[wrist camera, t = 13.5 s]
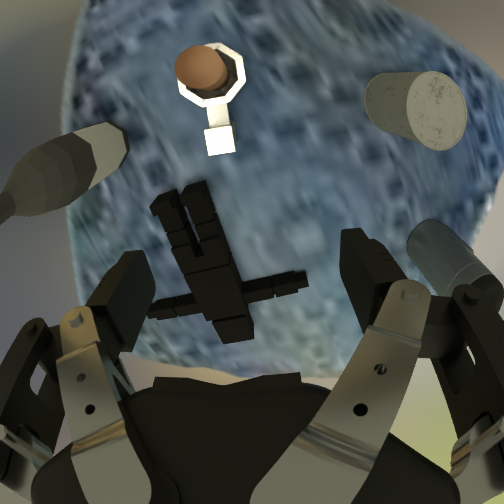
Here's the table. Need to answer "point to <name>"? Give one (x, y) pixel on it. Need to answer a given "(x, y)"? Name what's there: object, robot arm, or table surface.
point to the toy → (211, 267)
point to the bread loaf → (202, 68)
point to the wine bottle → (63, 170)
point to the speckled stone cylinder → (417, 107)
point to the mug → (220, 102)
